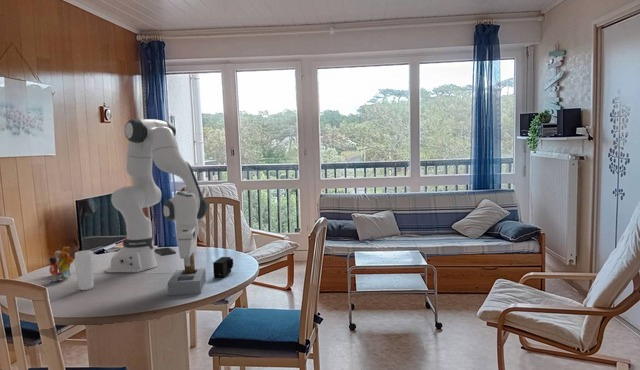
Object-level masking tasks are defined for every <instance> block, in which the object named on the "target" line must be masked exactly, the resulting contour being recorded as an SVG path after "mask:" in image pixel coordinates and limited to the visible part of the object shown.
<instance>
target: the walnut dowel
mask: <svg viewBox="0 0 640 370" xmlns="http://www.w3.org/2000/svg"><path fill="white" fill-rule="evenodd" d="M190 261H191V265H190V266H186V262H185V259H183V262H184V263H183V264H184V269H185V274H193V273H195V269H196V265H195V252H193V253H192V255H191V256H190Z"/></svg>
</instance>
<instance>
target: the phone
mask: <svg viewBox="0 0 640 370" xmlns="http://www.w3.org/2000/svg"><path fill="white" fill-rule="evenodd" d="M154 251H155V252H156V254H158V255H160V256H161V257H162V256H163V257H164V256H168V255H176V254H177V251H175V250H174V249H173V248H170V247H169V246H168V247H161V248H154Z"/></svg>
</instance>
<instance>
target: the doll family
mask: <svg viewBox="0 0 640 370" xmlns="http://www.w3.org/2000/svg"><path fill="white" fill-rule="evenodd" d="M70 248H71V247H70V246H63V248H62V249H61V250H56V251H55V252H54V253H53V254H54V255H55V257H54V256H52V257H49V258H48V264H50V267H49V270H48V271H49V273H50V274H51V275H52V276H51V277H52V278H51V281H49V285H52V284H57V283H59V282H60V279H59V276H61V278H62V279H61V282H66V281H69V280H70V279H71V278H70V276H71V272H70V268H71V264H73V263H74V261H75V257H74V258H73V257H71V256H70V254H69V253H70Z"/></svg>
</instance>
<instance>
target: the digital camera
mask: <svg viewBox="0 0 640 370" xmlns="http://www.w3.org/2000/svg"><path fill="white" fill-rule="evenodd" d="M212 265H213V267H212V268H213V269H212V270H213V279H220V278H221V279H224V278H226V277H227V276H228V275H229V274H230V273H232V269H233V267H234V259H233V258H232V257H231V256H221V257H219V258H218V259H217V260H215V261H213V263H212Z"/></svg>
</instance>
